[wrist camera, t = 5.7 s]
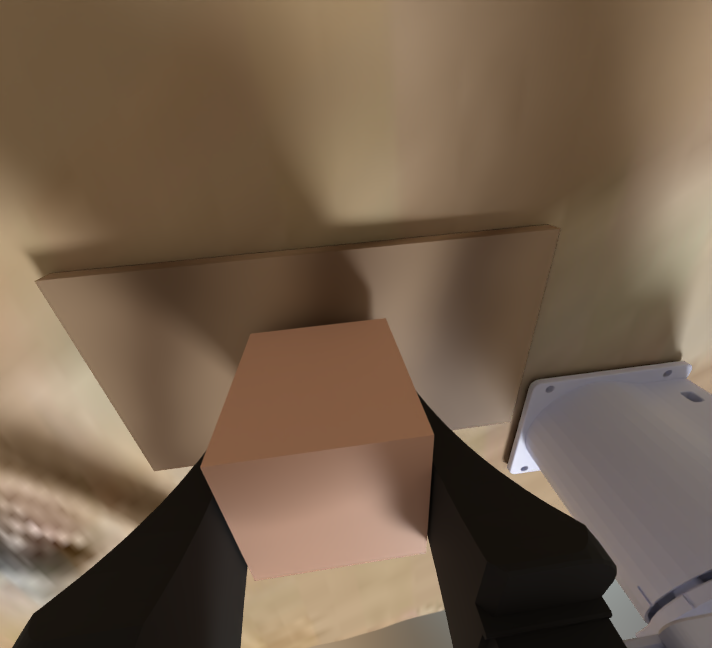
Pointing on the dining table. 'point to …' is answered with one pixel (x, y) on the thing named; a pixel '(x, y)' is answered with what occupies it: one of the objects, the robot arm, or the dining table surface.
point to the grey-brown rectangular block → (307, 324)
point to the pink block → (322, 451)
